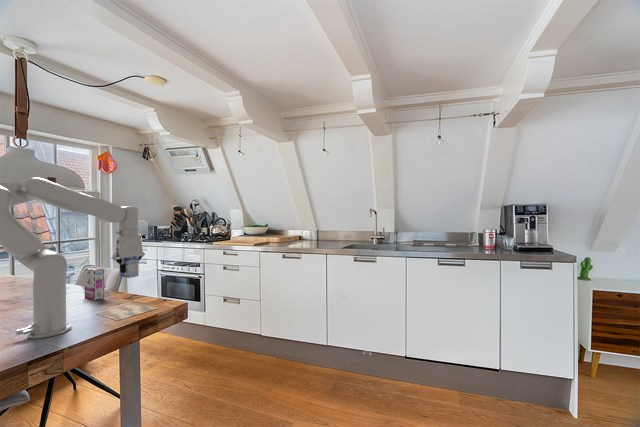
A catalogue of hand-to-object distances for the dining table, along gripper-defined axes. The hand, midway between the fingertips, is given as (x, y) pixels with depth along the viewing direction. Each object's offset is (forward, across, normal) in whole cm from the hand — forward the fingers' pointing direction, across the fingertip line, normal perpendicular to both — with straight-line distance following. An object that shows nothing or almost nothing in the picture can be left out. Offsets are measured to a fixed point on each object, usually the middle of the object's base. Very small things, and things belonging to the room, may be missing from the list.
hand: (129, 271), depth 139 cm
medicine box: (+3, 0, 0) cm, 3 cm away
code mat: (+19, 0, +2) cm, 19 cm away
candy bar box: (+19, +3, +41) cm, 46 cm away
